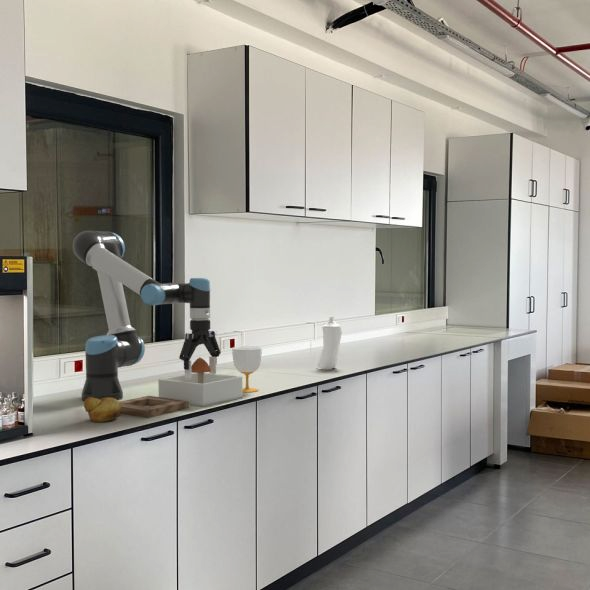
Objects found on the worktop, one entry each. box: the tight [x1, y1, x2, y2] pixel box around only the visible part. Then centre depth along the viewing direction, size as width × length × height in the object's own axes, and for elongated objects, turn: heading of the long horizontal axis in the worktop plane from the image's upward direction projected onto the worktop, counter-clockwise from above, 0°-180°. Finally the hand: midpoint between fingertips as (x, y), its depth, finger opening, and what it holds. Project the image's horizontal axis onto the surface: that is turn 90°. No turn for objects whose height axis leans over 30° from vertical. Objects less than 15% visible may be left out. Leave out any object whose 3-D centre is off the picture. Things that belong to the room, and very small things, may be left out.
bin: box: [158, 372, 243, 408], centre depth 282 cm, size 22×22×8 cm
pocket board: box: [118, 395, 190, 419], centre depth 262 cm, size 20×20×2 cm
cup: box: [231, 346, 263, 393], centre depth 301 cm, size 12×12×17 cm
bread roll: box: [83, 397, 121, 423], centre depth 246 cm, size 13×10×8 cm
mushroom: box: [191, 357, 211, 384], centre depth 283 cm, size 8×8×15 cm
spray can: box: [316, 316, 343, 370], centre depth 364 cm, size 12×11×25 cm
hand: (200, 376), depth 282 cm, fingers open, 13 cm apart
